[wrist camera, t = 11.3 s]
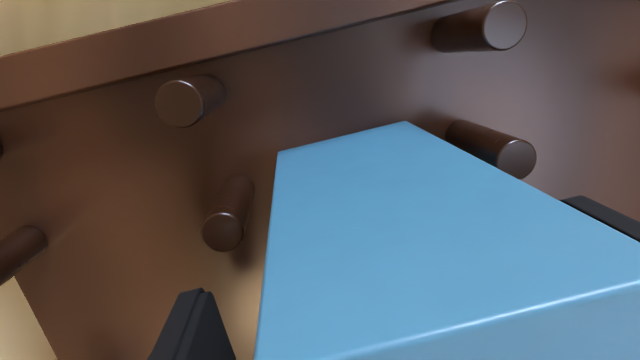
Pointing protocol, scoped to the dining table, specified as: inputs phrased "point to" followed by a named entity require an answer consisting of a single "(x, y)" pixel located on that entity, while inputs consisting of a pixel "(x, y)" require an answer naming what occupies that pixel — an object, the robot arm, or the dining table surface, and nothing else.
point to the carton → (435, 260)
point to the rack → (279, 138)
